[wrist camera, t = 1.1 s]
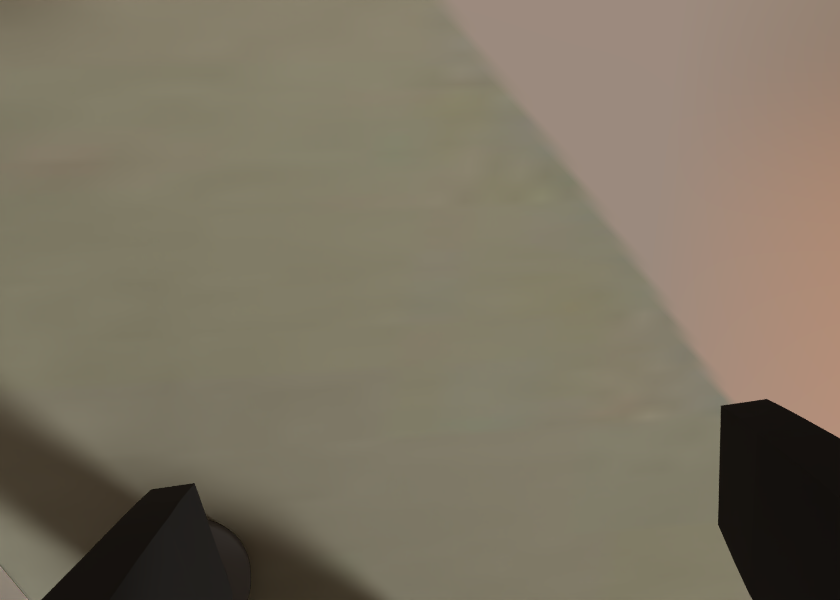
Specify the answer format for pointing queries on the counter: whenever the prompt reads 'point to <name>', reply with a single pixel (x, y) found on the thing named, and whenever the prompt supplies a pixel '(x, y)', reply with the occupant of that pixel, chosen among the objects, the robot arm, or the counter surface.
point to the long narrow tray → (9, 588)
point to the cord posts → (233, 560)
